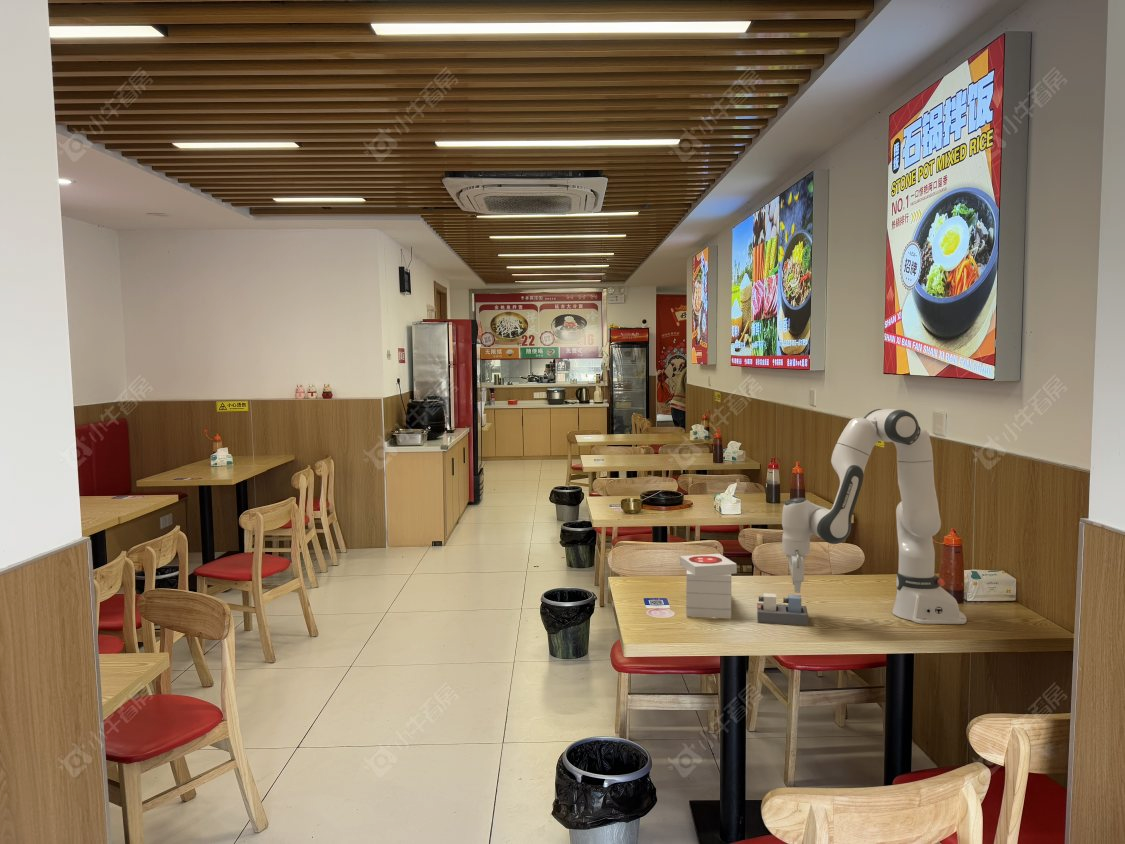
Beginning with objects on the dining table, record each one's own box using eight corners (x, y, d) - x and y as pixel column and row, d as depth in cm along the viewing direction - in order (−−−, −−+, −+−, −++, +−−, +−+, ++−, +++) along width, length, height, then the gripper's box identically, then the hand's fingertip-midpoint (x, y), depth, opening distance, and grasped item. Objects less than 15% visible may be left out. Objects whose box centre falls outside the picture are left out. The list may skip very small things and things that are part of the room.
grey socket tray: (805, 616, 260) (806, 604, 260) (808, 625, 250) (808, 614, 250) (757, 612, 264) (757, 601, 263) (757, 622, 254) (757, 610, 254)
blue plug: (800, 618, 258) (800, 595, 257) (801, 622, 254) (801, 598, 253) (782, 617, 259) (783, 594, 258) (783, 621, 255) (783, 597, 254)
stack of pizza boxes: (732, 595, 285) (732, 547, 283) (737, 621, 255) (737, 568, 254) (680, 592, 288) (680, 545, 287) (679, 618, 258) (679, 566, 257)
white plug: (775, 617, 259) (775, 593, 259) (776, 620, 256) (776, 597, 255) (758, 615, 261) (758, 592, 260) (758, 619, 257) (758, 596, 256)
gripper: (808, 555, 243) (808, 597, 244) (803, 540, 263) (804, 580, 264) (787, 554, 245) (788, 597, 246) (784, 540, 265) (785, 579, 266)
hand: (796, 588), depth 255 cm, fingers open, 8 cm apart
